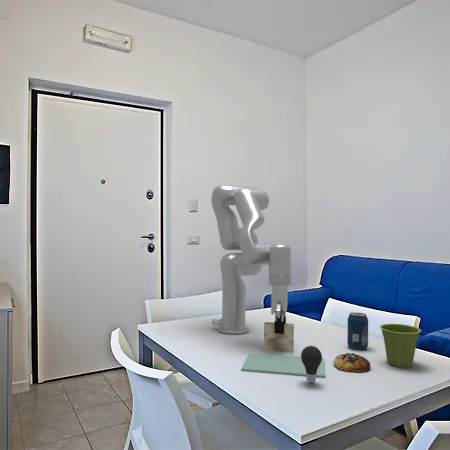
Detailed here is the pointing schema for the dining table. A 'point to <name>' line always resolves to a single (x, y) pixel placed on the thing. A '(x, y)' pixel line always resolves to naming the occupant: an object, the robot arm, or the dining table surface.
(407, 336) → the plant pot
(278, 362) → the rubber mat
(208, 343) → the dining table surface
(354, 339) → the soda can
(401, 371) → the dining table surface
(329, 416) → the dining table surface
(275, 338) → the tan wooden block
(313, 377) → the light bulb
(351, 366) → the bread roll
